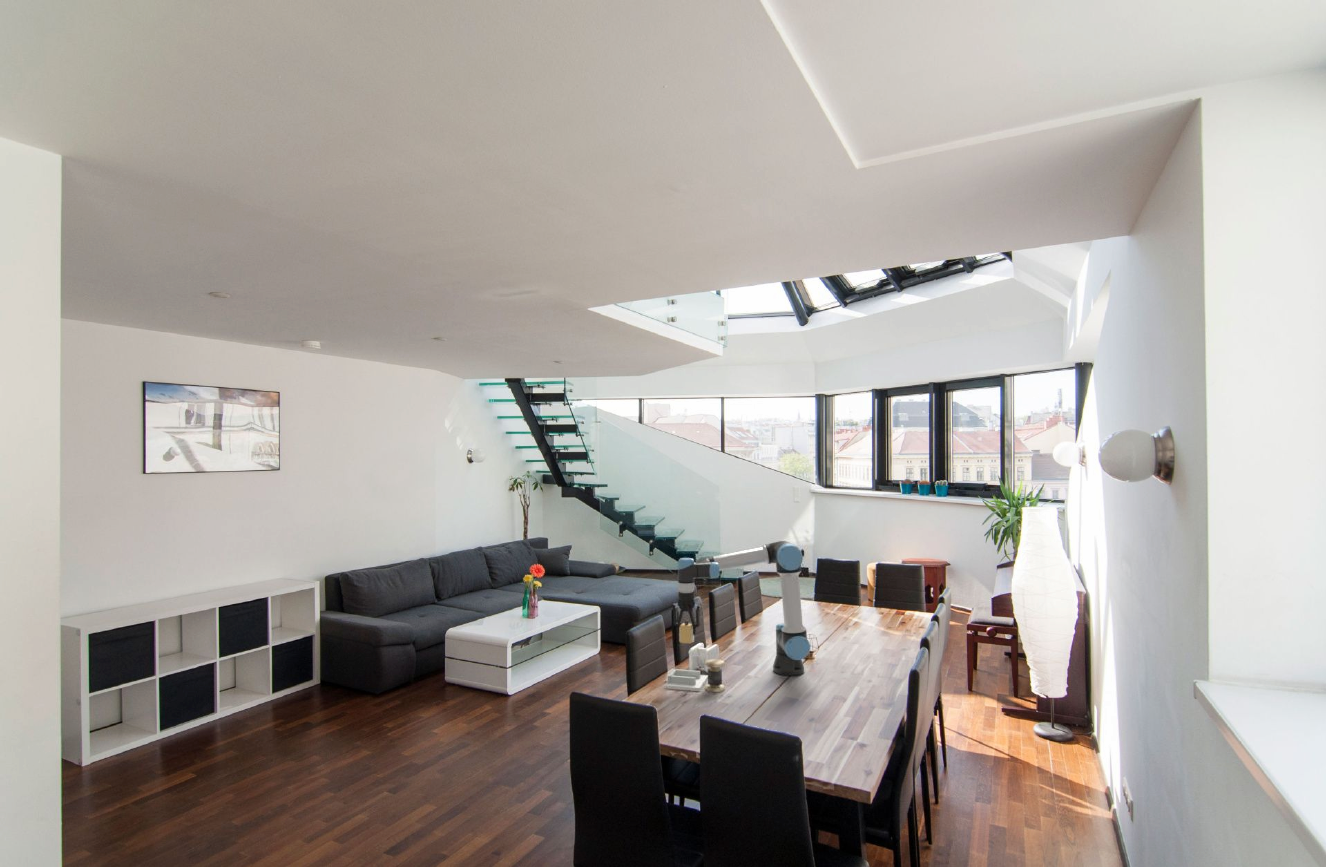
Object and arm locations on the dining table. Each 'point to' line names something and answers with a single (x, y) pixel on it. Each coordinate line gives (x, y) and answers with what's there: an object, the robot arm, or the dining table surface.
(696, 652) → the cable organizer
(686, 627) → the yellow bottle
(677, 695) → the dining table surface
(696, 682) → the grey square tray
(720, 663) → the bobbin
